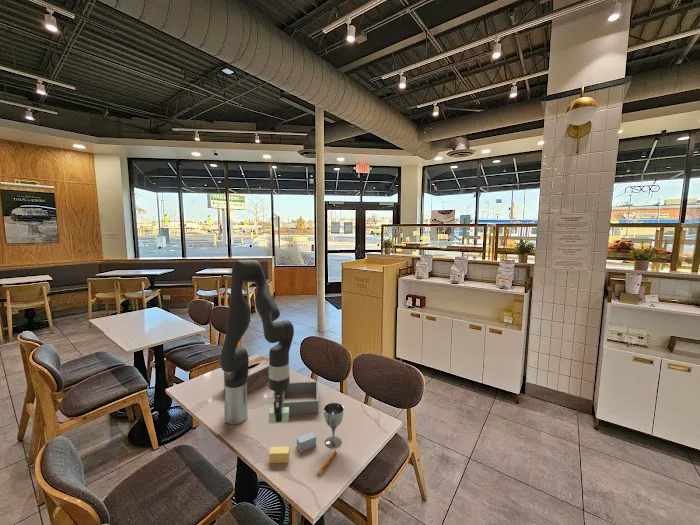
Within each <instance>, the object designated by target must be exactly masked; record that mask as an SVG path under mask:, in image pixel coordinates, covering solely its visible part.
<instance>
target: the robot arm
mask: <svg viewBox="0 0 700 525" xmlns="http://www.w3.org/2000/svg"><path fill="white" fill-rule="evenodd" d="M230 276H231V278H230V279H231V280H230V284H231V285H230V298H229V305H228V310H227V317H226V318H227V319H226V330H225V334H224V341H223V344H222V349H221V353H220V359H219V362H220V363H219V364H220V367H221V370H222V371H223V373H224V372H231V373H230V374H229V375H228V376H227V377H226V379H225V389H224V390H225V391H224V392H225V393H224V394H225V399H224V404H223V408H224V423H226V424H229V425H239V424H242V423H243V422H245V421H246V420H247V418H248V394H247V377H248V364H249V361H250V359H249V354H248V351H247V349H246V348H245V347H244V346H238V344H239V343H240V340H241V339H242V337H244V335H245V334H246V332H247V330H248V328H249V325H250V324H251V323H250V322H251V315H252V310H251V306H250V305H249V303H248V301H247V300H246V298H245V295H244V293H243V285H244V283H255V285H256V287H257V288H256V294H255V299H254V304H255V308H256V310H257V313H258V314H259V317H260V318H261V324H262V326H263V327H262V328H263V335H264V336H263V337H264V339H265V340H266V341H267V342H268V343H269V344H275V343H277V344H275V345H274V346H273V347H271V348H270V349H269V353H268V354H269V355H268V356H269V357H268V358H269V383H268V388H269V390H270V391H273V395H272V396H273V397H272V398H273V408H274V414H276V422H281V421H282V407H283V404H284V402H285V395H286V394H285V390H286V389H287V388H288V387H289V385H290V382H291V379H290V378H291V377H290V376H291V375H290V371H291V370H290V368H291V367H290V351H291V350H290V349H291V345H292V342H293V339H294V335H295V328H294V325H293V323H292V321H290V320H287V319H284V320H279V321H277V320H278V319H279V317H280V316H281V313H280V311H281V310H280V309H279V307H278V306H277V304H276V302H275V299H274V298H273V296H272V293H271V291H270V288H269V286H268V282H267V278H266V275H265V272H264V270H263V267H262V265H261V263H260V262H259V260H255V259H244V260H243V259H237V260H236V261H234V262H233V263H232V268H231V275H230ZM275 321H276V322H275Z"/></svg>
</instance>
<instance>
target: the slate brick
mask: <svg viewBox="0 0 700 525" xmlns="http://www.w3.org/2000/svg"><path fill="white" fill-rule="evenodd" d="M316 446H317V436H316V434H315V433H314V432H313V431H311V432H308V433H306V434H302V435H300V436H298V437H296V447H297V450H298V451H299V453H301V452H303V451H306V450H308V449H309V450H310V449H312V448H314V447H316Z"/></svg>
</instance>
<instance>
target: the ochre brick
mask: <svg viewBox="0 0 700 525" xmlns="http://www.w3.org/2000/svg"><path fill="white" fill-rule="evenodd" d="M290 449H291V448H290V446H270V450H269V456H268V457H269V464H286V463H289V460H290V456H291V454H290Z"/></svg>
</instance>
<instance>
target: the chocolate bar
mask: <svg viewBox="0 0 700 525" xmlns="http://www.w3.org/2000/svg"><path fill="white" fill-rule="evenodd" d="M337 456H338V451H337V448H335V449H333V452H332V453H331V454H330V456H329V457H328V458H327V459H326V460H325V462H324V463H323V464H322V466H321V467H320V468H319V470H318V471H317V472H316V475H318V476H320V477H322V476H323V474H324V473H325V472H326V470H327V469H328V468H329V466H330V465H331V464H332V462H333V461H334V460H335V458H337Z"/></svg>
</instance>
